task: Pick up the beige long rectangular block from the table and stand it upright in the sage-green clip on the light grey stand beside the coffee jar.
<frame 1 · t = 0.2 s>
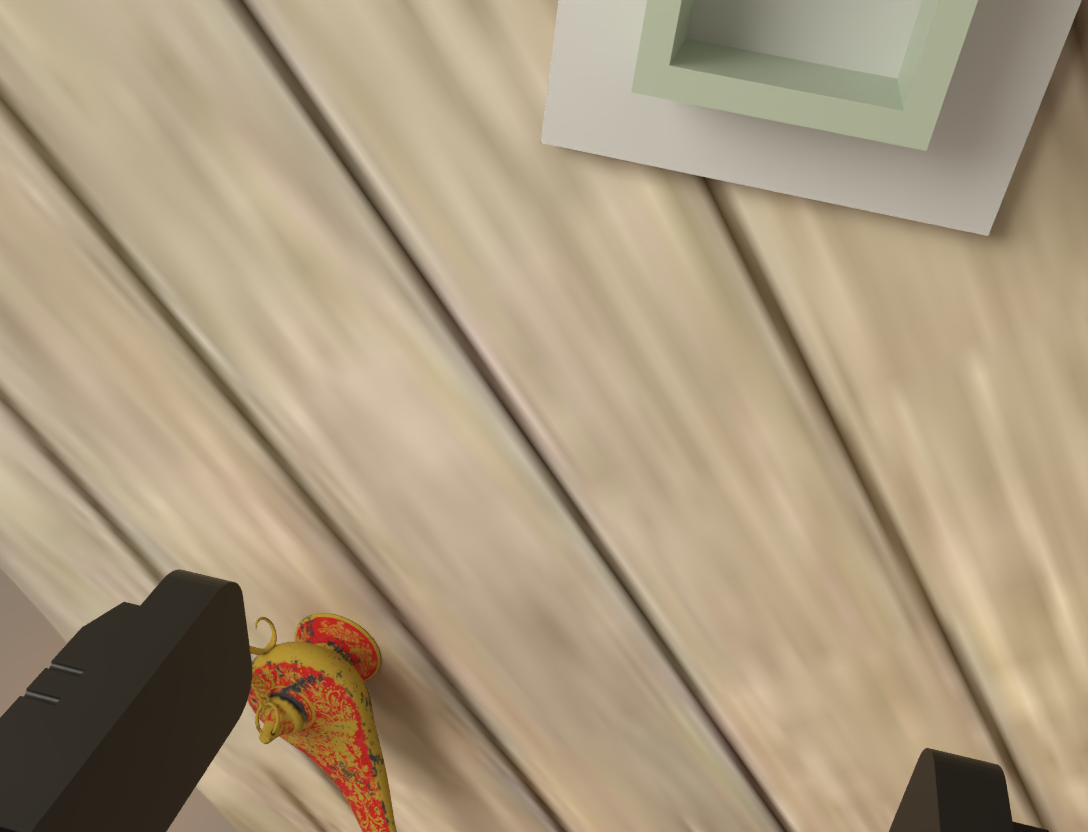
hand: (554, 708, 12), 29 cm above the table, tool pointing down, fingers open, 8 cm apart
magic lamp: (356, 666, 57), on the table
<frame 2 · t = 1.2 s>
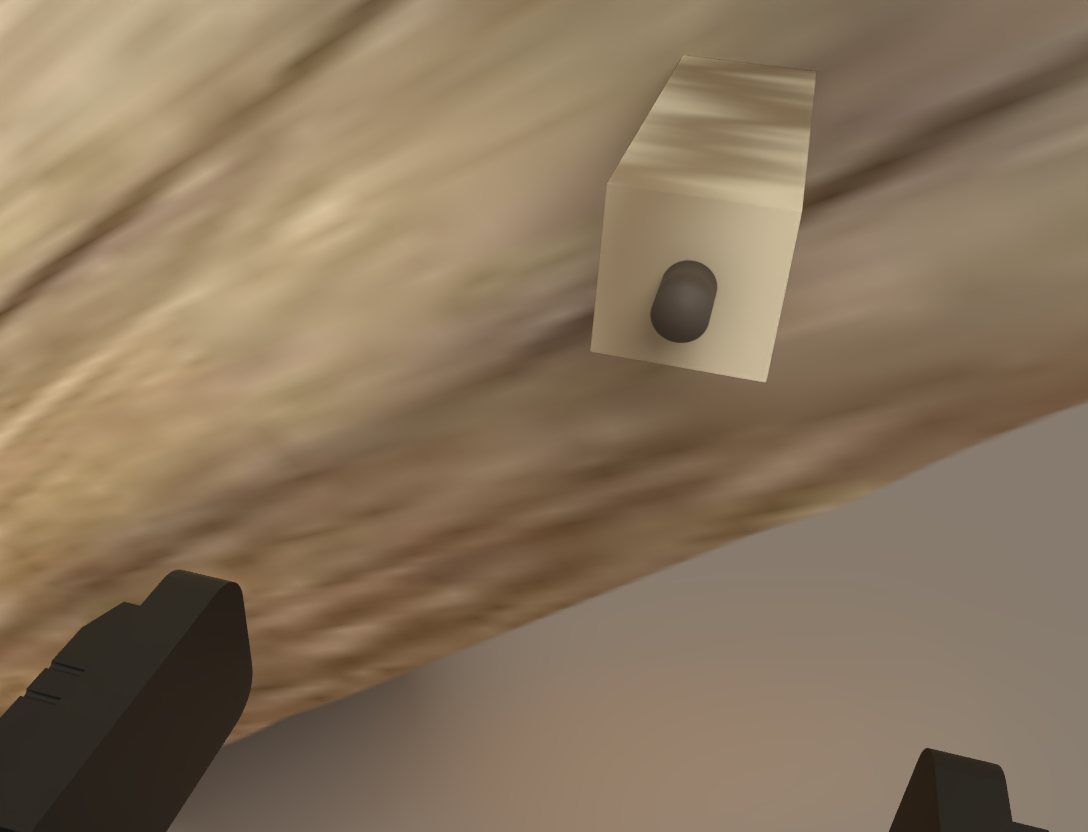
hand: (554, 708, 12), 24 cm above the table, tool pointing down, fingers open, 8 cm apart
beige long rectangular block: (738, 129, 32), on the table
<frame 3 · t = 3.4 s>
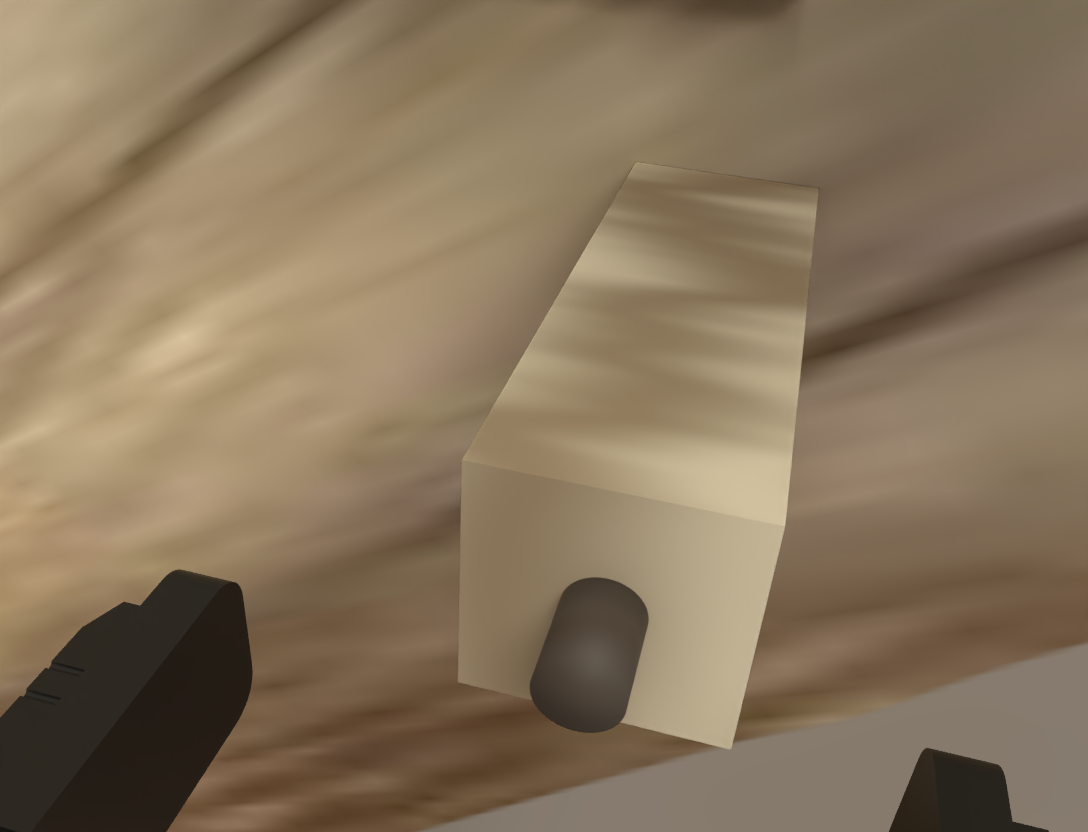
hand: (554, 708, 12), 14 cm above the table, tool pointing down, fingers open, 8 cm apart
beige long rectangular block: (712, 259, 23), on the table
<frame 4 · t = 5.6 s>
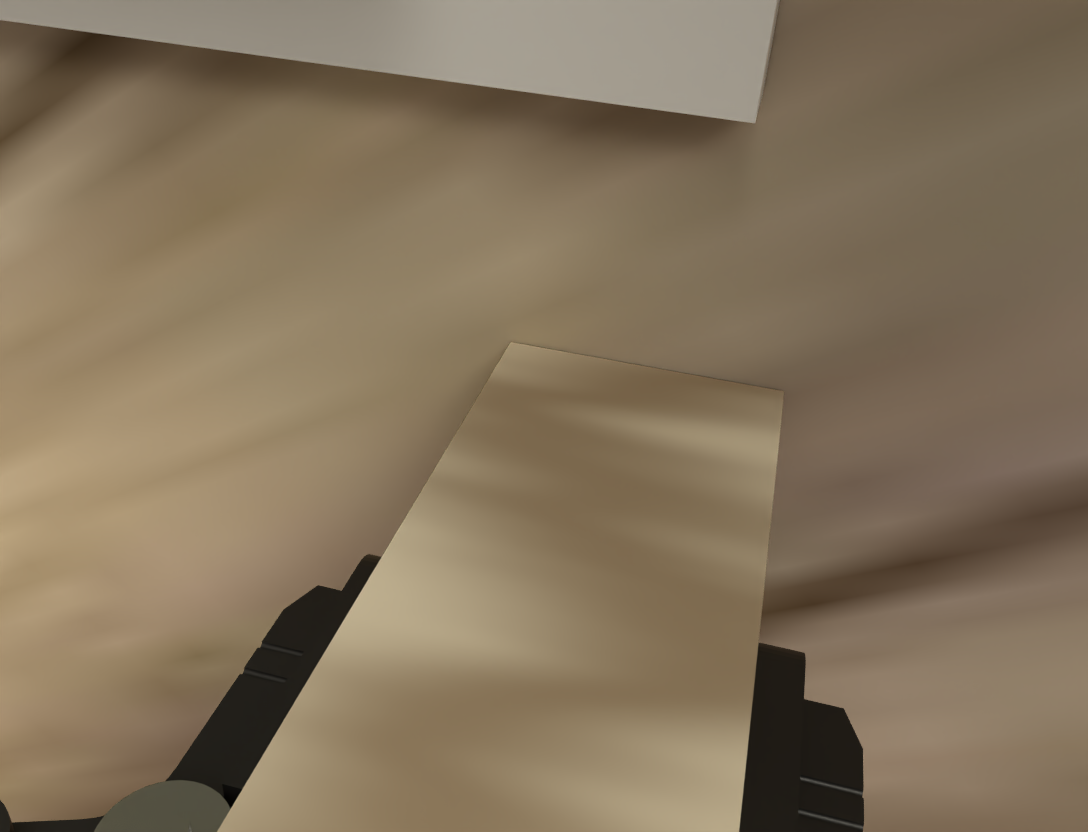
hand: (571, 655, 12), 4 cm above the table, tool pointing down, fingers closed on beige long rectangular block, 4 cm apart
beige long rectangular block: (629, 477, 16), on the table, touching gripper
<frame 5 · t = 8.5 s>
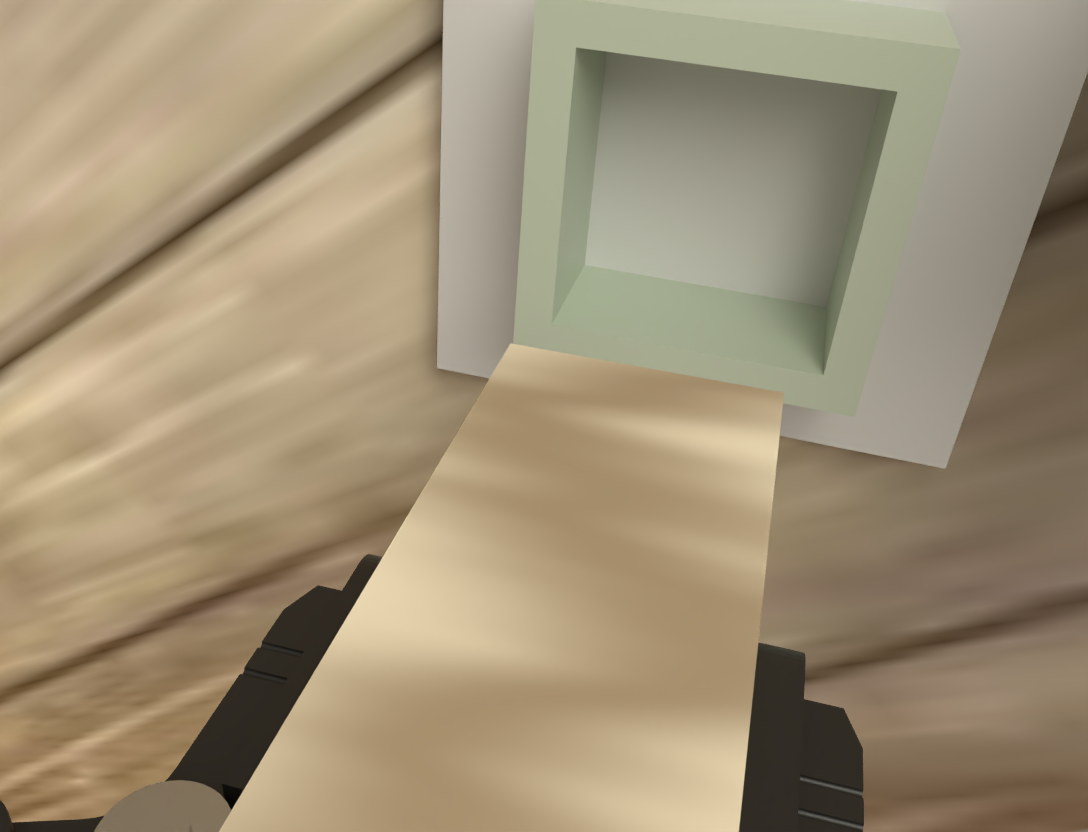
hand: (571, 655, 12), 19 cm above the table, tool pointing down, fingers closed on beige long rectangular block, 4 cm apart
beige long rectangular block: (628, 478, 16), point 15 cm above the table, touching gripper
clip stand: (728, 154, 28), on the table
when the fingers open (6 cm above the table, at t = 11.7 s): beige long rectangular block drops 1 cm, resting on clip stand.
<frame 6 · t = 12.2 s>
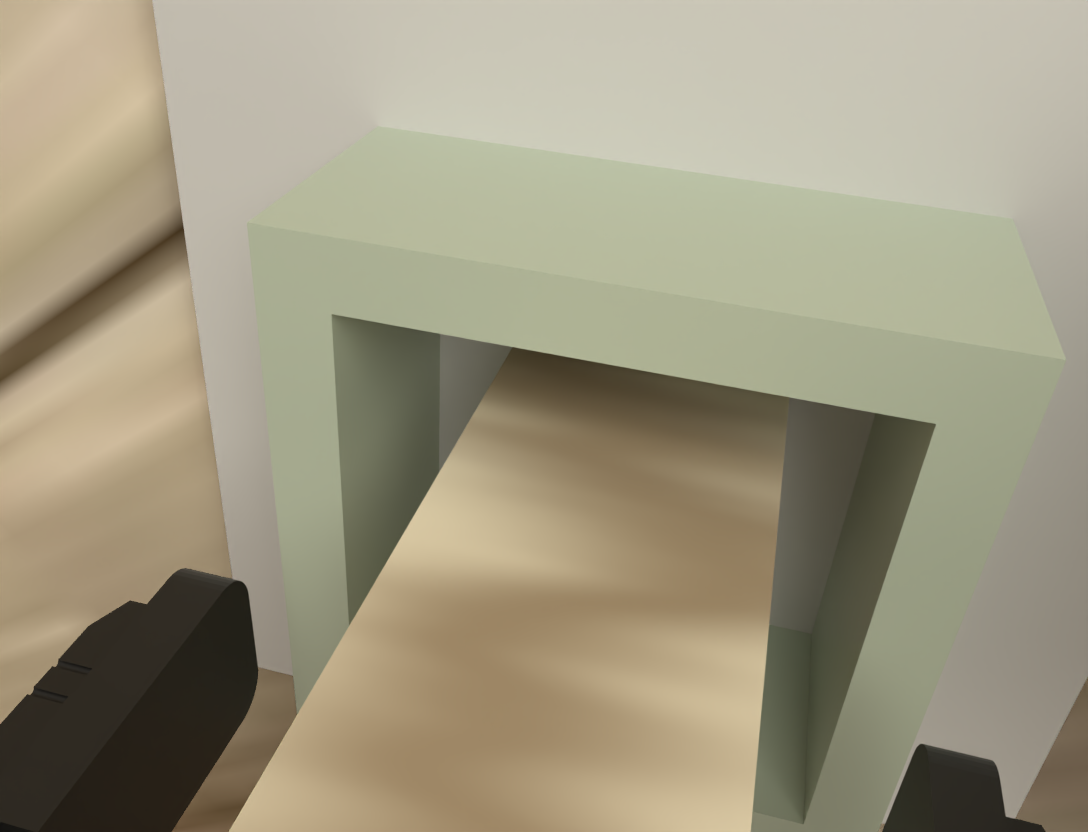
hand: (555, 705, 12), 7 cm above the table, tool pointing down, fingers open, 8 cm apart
beige long rectangular block: (647, 434, 17), point 1 cm above the table, touching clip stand
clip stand: (652, 397, 18), on the table
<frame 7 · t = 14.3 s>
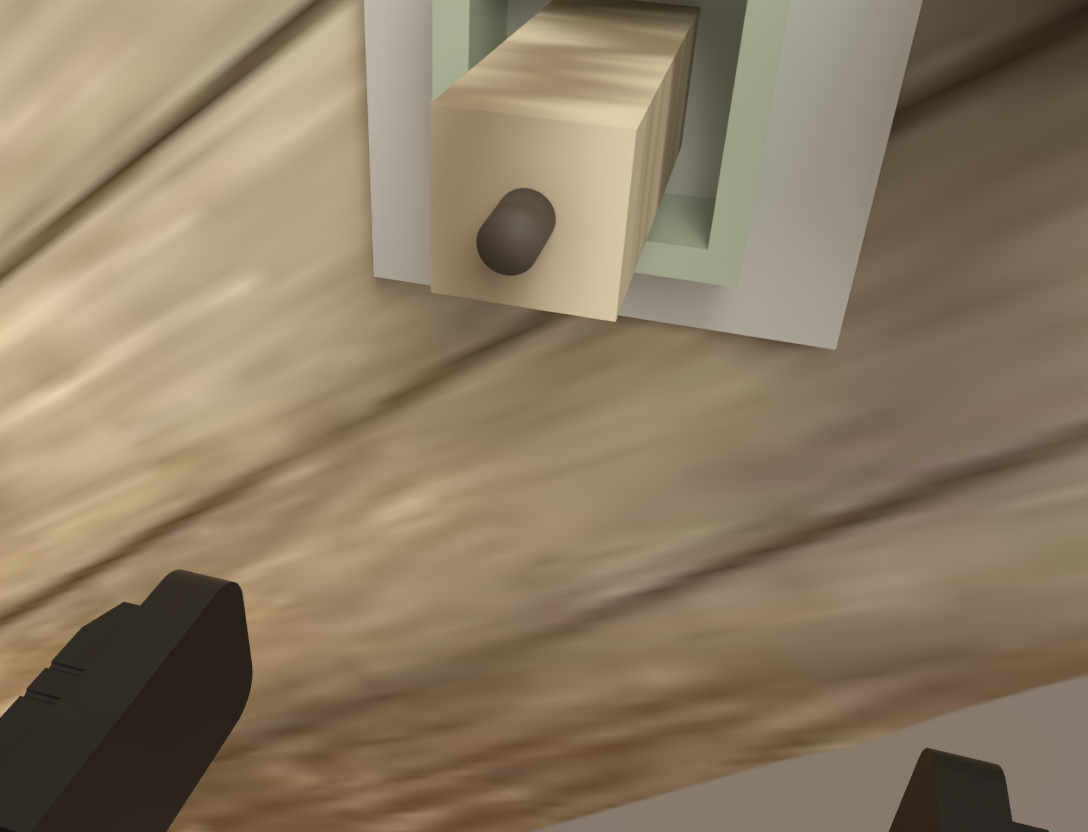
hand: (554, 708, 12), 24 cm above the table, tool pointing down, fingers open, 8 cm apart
beige long rectangular block: (623, 71, 30), point 1 cm above the table, touching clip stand
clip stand: (626, 62, 31), on the table
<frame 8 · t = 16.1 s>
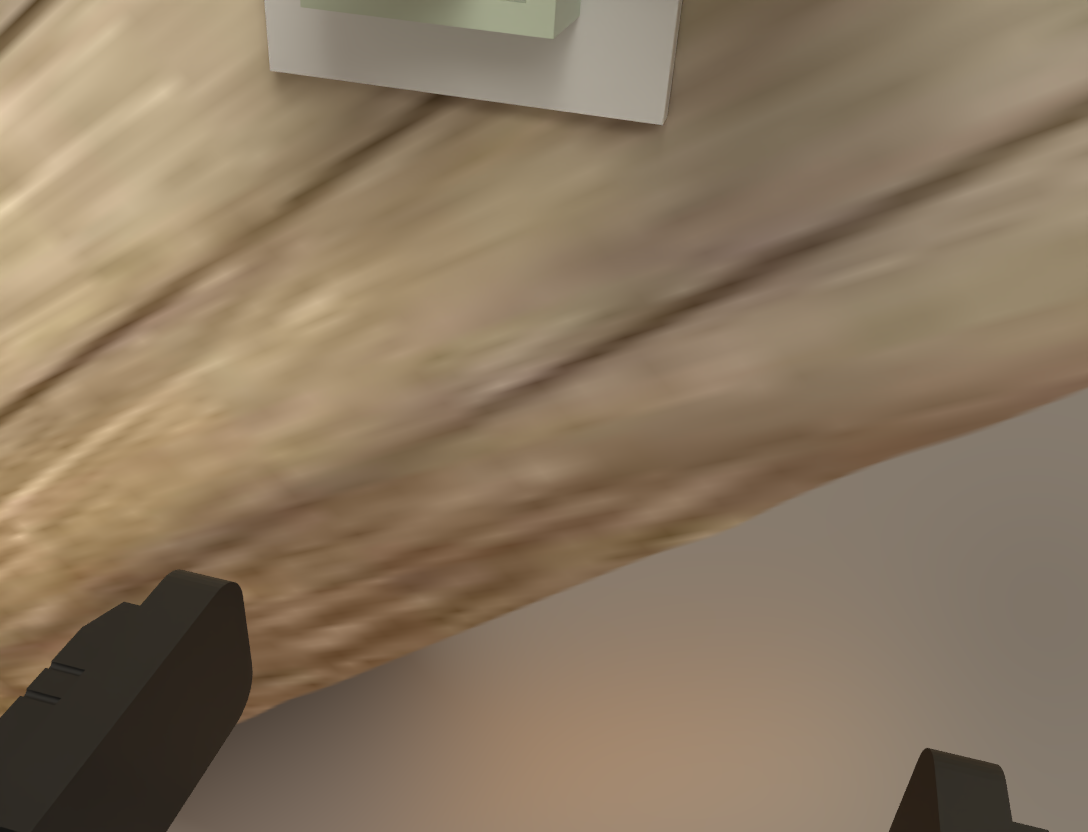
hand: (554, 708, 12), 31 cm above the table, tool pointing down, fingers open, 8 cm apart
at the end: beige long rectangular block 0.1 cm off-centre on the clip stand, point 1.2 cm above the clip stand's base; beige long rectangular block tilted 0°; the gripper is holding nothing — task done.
